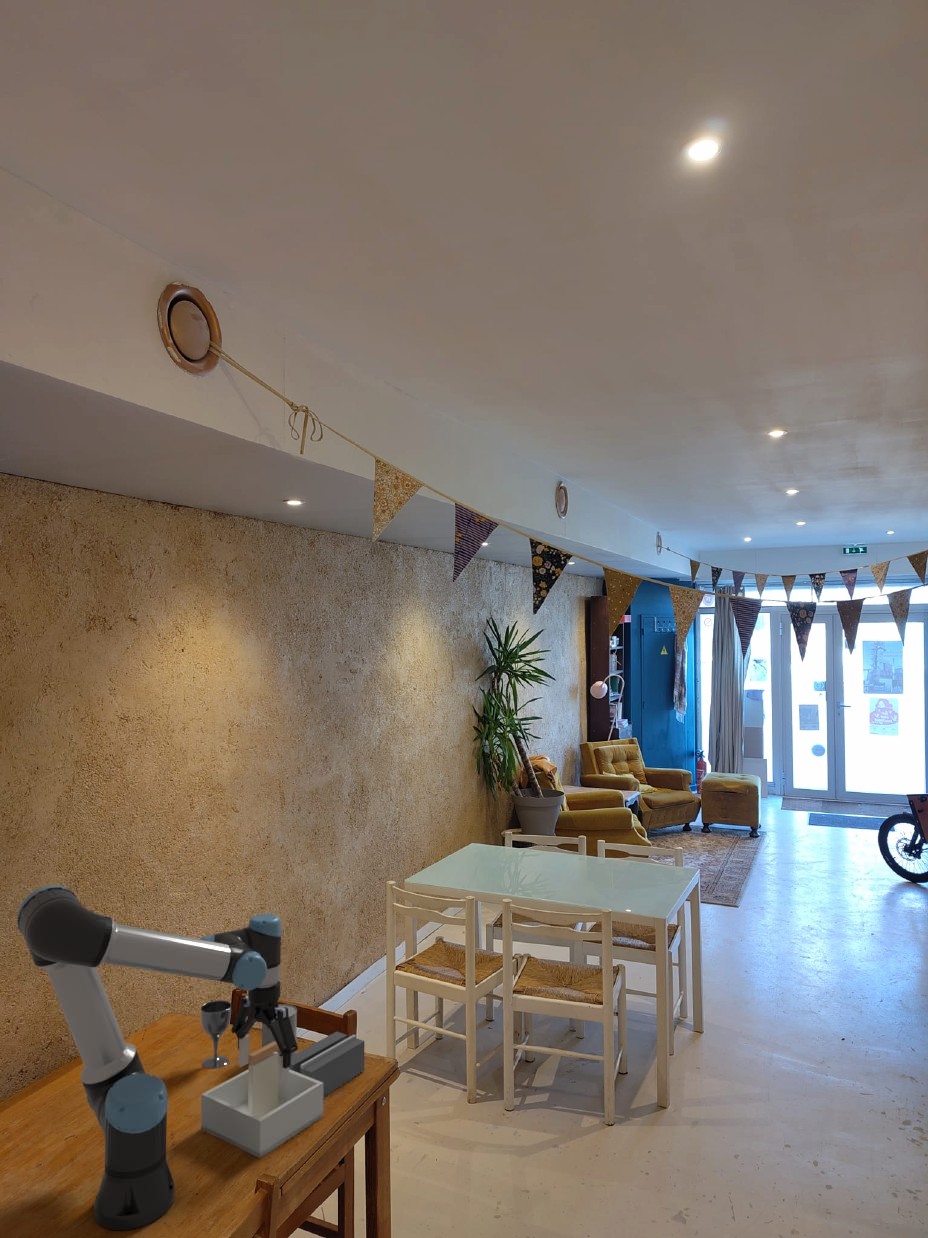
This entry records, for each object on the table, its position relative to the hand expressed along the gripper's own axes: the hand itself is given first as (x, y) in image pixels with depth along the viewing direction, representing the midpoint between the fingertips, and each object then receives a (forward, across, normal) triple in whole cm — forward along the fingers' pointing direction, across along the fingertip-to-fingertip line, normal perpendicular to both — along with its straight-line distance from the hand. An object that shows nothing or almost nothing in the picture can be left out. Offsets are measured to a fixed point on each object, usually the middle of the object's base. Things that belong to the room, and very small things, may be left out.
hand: (263, 1072), depth 198 cm
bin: (+12, 0, 0) cm, 12 cm away
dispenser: (+12, +1, -22) cm, 25 cm away
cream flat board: (+11, 0, 0) cm, 11 cm away
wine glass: (+12, +33, -13) cm, 37 cm away
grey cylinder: (+12, +21, -25) cm, 35 cm away
